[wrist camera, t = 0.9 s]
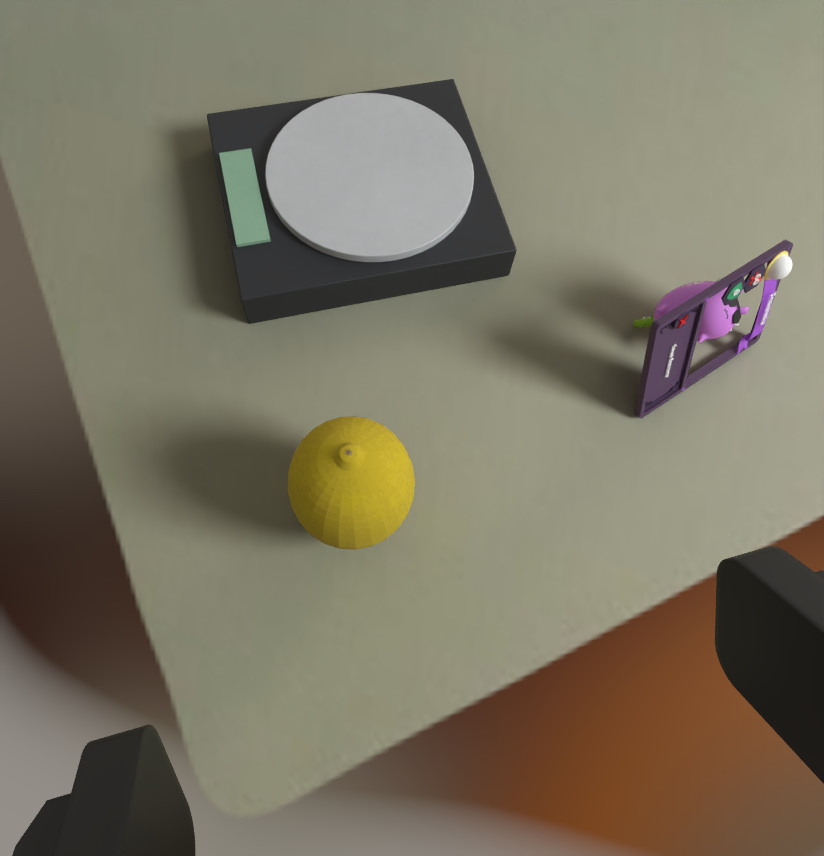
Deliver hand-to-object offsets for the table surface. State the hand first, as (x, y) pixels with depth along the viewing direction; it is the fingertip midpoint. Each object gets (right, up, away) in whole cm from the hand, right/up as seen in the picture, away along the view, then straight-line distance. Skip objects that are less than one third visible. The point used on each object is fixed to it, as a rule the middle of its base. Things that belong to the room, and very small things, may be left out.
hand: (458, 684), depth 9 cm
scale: (-4, +17, +31) cm, 35 cm away
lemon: (-3, 0, +24) cm, 25 cm away
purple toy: (+14, +8, +29) cm, 33 cm away
